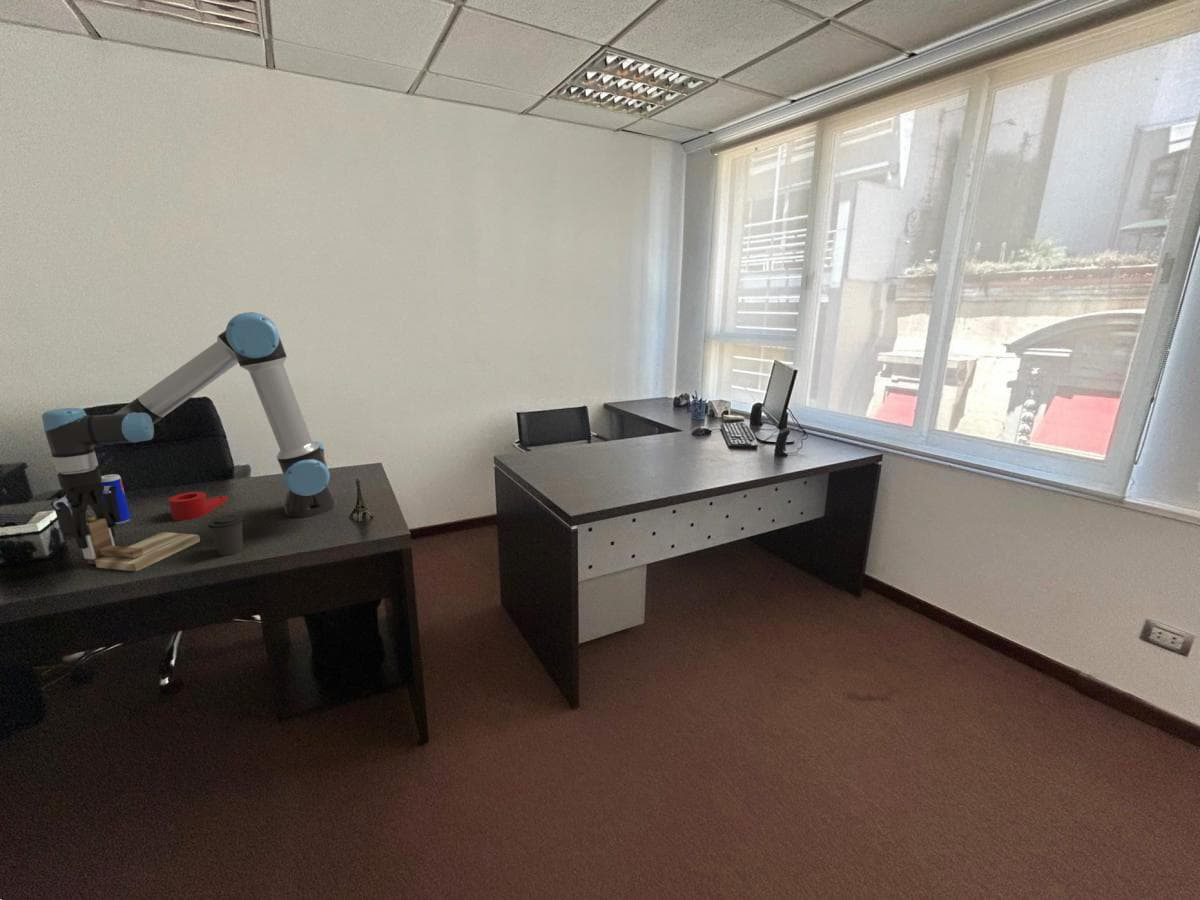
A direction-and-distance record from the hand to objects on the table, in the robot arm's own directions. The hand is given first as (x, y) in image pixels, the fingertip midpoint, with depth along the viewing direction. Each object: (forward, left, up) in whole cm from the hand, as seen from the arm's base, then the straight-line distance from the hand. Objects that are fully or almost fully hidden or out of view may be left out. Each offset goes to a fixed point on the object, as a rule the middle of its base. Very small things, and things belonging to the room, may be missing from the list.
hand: (100, 554), depth 132 cm
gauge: (-8, 0, -2) cm, 8 cm away
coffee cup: (-28, -11, -2) cm, 30 cm away
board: (-8, -6, -2) cm, 10 cm away
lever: (+6, -36, -3) cm, 36 cm away
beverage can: (+23, -23, -2) cm, 33 cm away
